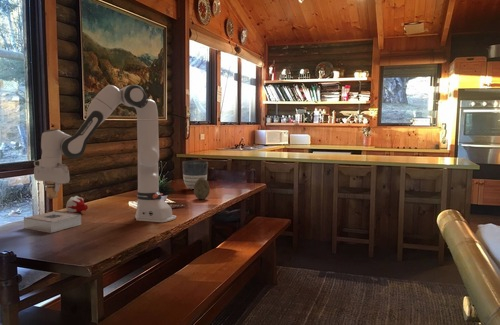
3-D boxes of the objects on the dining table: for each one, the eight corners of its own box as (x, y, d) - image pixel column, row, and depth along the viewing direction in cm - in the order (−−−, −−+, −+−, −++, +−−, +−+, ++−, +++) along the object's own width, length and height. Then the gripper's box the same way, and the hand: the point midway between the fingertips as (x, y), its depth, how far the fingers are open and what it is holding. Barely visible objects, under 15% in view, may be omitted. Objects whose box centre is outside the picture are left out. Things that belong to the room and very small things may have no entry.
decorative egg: (205, 201, 277) (205, 178, 276) (190, 200, 281) (190, 177, 279) (212, 198, 288) (212, 176, 286) (197, 197, 291) (198, 176, 290)
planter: (206, 191, 316) (206, 163, 314) (180, 191, 316) (180, 162, 314) (209, 187, 335) (209, 160, 333) (184, 187, 336) (184, 160, 333)
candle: (72, 208, 245) (93, 214, 240) (58, 212, 234) (79, 218, 229) (73, 193, 243) (95, 198, 239) (59, 196, 233) (81, 202, 228)
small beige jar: (59, 197, 205) (59, 181, 205) (51, 198, 201) (51, 182, 200) (52, 196, 207) (52, 180, 206) (44, 198, 203) (44, 181, 202)
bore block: (81, 224, 210) (81, 214, 210) (51, 232, 194) (50, 221, 193) (55, 220, 217) (54, 210, 217) (24, 228, 201) (23, 217, 201)
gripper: (72, 163, 201) (73, 192, 203) (42, 160, 210) (42, 188, 211) (62, 164, 196) (62, 194, 197) (31, 161, 204) (31, 190, 205)
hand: (52, 191), depth 204 cm, fingers closed on small beige jar, 5 cm apart
